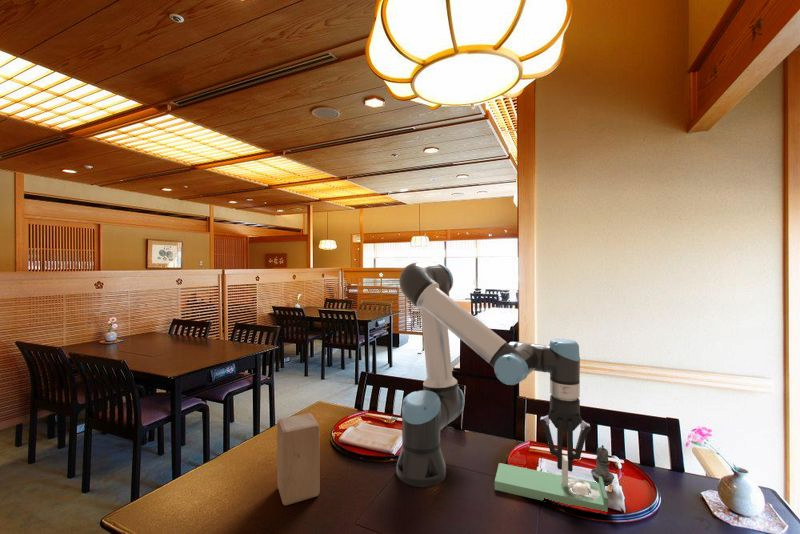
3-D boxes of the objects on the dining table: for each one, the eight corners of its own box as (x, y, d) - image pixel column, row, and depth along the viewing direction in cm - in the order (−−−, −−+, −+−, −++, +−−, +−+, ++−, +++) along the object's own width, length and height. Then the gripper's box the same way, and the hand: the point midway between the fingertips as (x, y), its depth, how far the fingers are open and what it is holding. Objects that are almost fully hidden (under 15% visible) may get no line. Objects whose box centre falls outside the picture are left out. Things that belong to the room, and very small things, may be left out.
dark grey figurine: (617, 494, 100) (617, 451, 100) (594, 491, 101) (594, 449, 101) (609, 481, 106) (609, 440, 105) (588, 479, 107) (588, 439, 107)
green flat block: (494, 489, 102) (494, 473, 102) (499, 470, 111) (499, 456, 111) (607, 515, 91) (607, 498, 91) (602, 492, 100) (602, 476, 100)
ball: (573, 485, 97) (590, 491, 95) (572, 477, 100) (588, 482, 99) (571, 500, 97) (588, 505, 95) (571, 491, 101) (587, 496, 99)
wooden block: (282, 508, 94) (282, 432, 94) (276, 487, 103) (276, 417, 103) (320, 496, 99) (320, 424, 99) (311, 477, 108) (311, 411, 107)
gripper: (539, 397, 98) (539, 483, 98) (592, 404, 93) (592, 494, 93) (539, 388, 105) (539, 469, 105) (589, 394, 100) (589, 478, 100)
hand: (564, 481), depth 99 cm, fingers closed
